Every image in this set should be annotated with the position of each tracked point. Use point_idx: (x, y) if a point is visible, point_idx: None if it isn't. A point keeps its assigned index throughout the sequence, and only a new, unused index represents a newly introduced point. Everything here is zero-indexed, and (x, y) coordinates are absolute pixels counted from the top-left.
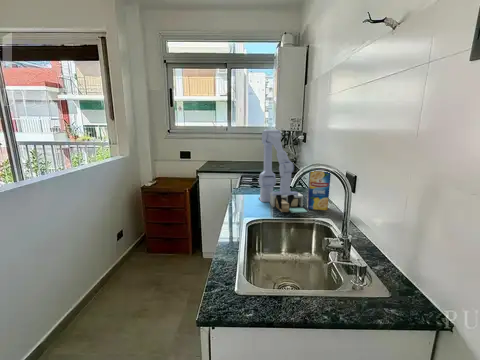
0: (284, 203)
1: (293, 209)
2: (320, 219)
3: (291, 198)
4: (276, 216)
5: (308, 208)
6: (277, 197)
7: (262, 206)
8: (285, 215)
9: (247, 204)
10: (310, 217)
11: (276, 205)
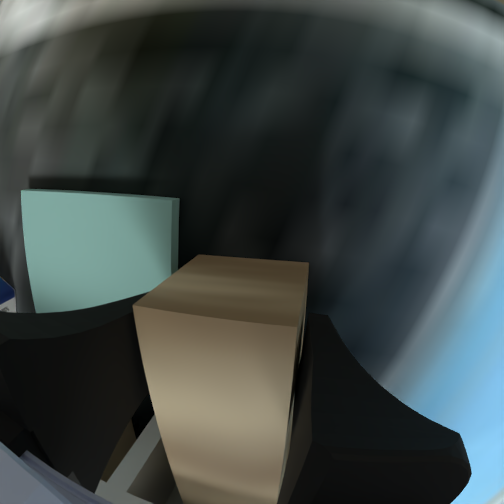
0: (225, 356)
1: (120, 290)
2: (31, 5)
3: (8, 326)
4: (466, 91)
5: (9, 288)
6: (463, 486)
7: None
8: (319, 94)
9: (482, 493)
10: (62, 33)
11: (288, 453)
